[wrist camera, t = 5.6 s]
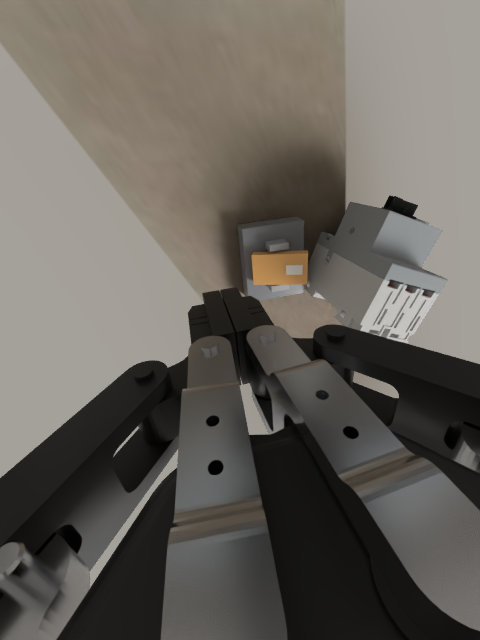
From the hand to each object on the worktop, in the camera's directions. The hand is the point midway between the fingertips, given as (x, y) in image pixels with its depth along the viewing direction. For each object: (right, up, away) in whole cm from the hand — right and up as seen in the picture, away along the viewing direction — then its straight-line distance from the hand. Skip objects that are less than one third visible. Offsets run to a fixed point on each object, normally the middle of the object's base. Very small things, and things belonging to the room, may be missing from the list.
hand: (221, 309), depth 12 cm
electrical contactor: (+16, +11, +29) cm, 35 cm away
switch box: (+5, +8, +28) cm, 29 cm away
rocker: (+6, +7, +24) cm, 26 cm away
